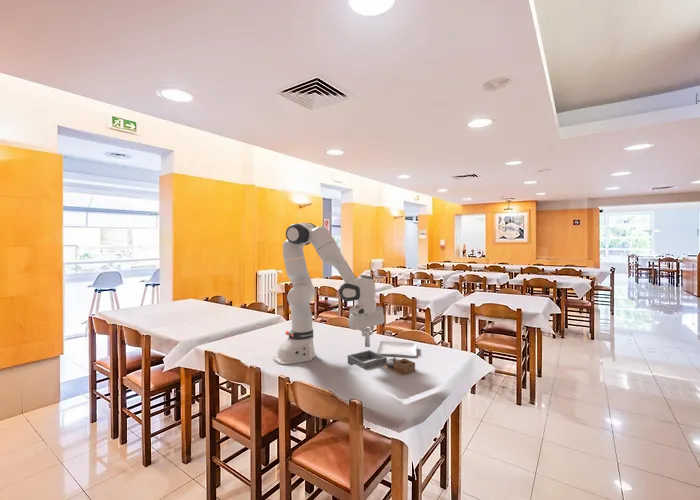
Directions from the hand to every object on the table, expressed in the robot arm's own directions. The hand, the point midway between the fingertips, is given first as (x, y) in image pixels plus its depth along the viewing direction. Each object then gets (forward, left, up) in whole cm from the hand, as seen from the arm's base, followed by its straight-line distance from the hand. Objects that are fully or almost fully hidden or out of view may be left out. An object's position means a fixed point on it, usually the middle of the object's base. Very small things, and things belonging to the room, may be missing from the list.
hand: (367, 335), depth 168 cm
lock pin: (0, 0, -6) cm, 6 cm away
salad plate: (+24, +4, -15) cm, 29 cm away
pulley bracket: (+7, -16, -15) cm, 23 cm away
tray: (0, 0, -15) cm, 15 cm away
